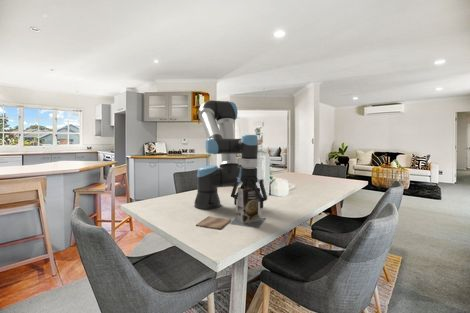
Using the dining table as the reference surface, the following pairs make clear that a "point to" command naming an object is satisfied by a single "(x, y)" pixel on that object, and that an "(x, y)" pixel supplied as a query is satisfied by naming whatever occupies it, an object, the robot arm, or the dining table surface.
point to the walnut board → (213, 222)
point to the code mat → (252, 224)
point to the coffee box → (247, 205)
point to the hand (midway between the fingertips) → (248, 213)
